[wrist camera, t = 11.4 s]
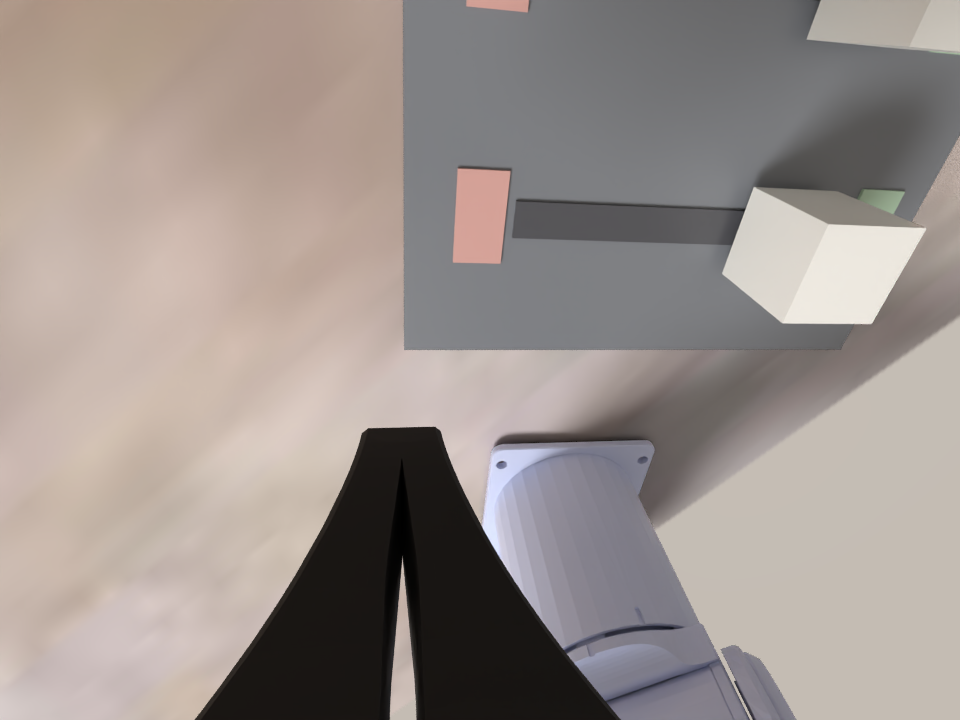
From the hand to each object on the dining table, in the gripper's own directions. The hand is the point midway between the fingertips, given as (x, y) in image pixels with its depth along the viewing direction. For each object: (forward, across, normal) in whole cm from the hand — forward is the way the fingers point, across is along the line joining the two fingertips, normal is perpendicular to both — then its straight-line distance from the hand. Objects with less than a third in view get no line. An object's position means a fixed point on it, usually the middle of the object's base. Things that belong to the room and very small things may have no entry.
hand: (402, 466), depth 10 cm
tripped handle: (+8, -13, -2) cm, 15 cm away
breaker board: (+10, -9, -5) cm, 15 cm away
